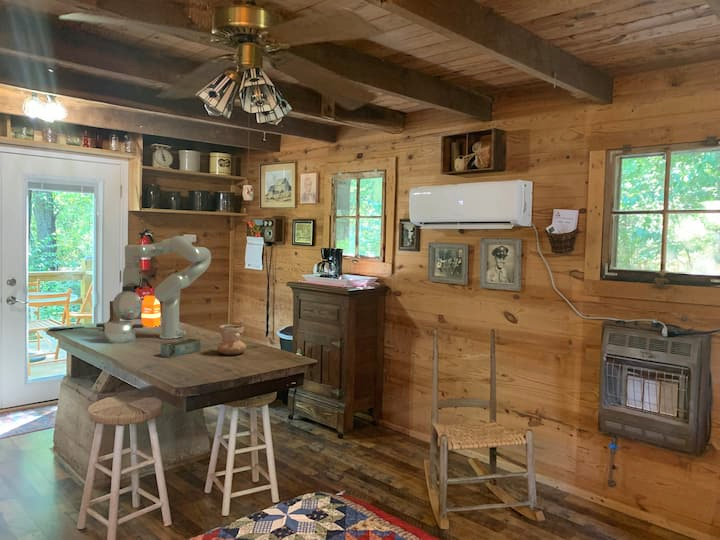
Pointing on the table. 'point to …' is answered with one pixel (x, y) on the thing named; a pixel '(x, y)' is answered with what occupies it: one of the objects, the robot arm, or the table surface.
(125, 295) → the lid
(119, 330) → the pot
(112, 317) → the wooden block
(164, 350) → the grey-green rectangular block
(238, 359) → the table surface
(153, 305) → the orange juice
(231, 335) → the ceramic jug
